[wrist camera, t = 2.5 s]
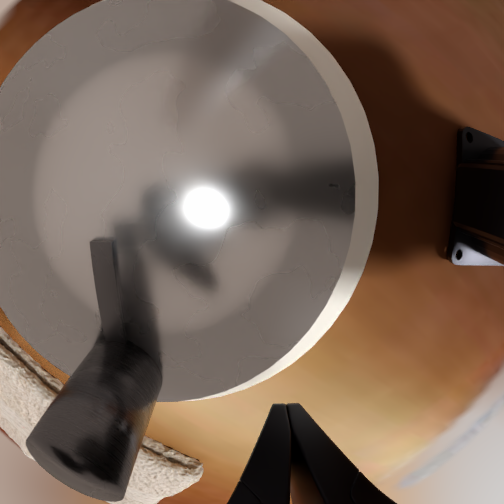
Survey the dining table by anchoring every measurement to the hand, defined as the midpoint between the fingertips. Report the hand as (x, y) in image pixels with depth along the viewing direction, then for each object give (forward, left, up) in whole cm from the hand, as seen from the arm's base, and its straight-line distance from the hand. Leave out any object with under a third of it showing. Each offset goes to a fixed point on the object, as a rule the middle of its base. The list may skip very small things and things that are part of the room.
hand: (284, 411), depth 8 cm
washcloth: (+14, +11, -5) cm, 18 cm away
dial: (+6, -6, -3) cm, 9 cm away
